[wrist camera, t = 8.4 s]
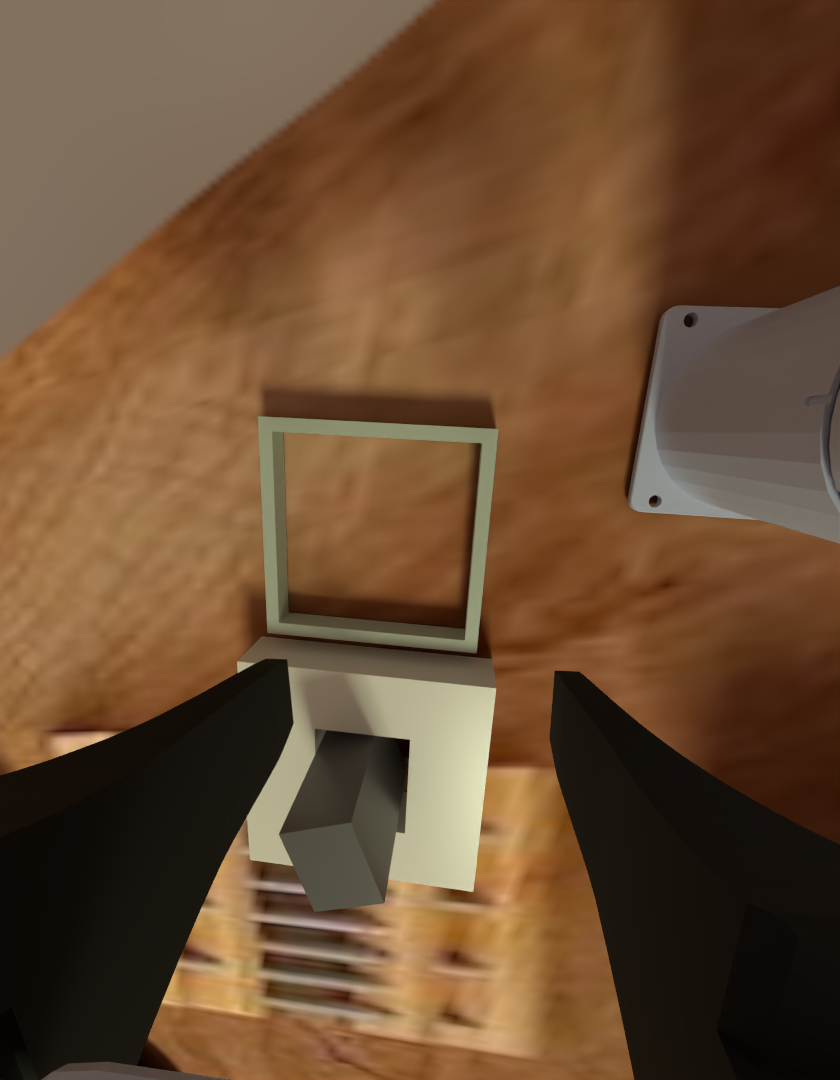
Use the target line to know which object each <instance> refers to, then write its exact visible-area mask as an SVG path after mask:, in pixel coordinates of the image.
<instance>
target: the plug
mask: <svg viewBox="0 0 840 1080" xmlns="http://www.w3.org/2000/svg"><path fill="white" fill-rule="evenodd" d="M406 770H407V764H406V762H405V759H404V756H403V753H402V751H401V748H400V745H399V742H398V740H397V738H391V737H382V736H374V735H365V734H357V733H348V732H339V731H331V730H326V732H325V734H324V736H323V739H322V741H321V743H320V745H319V747H318V749H317V752H316V754H315V756H314V758H313V760H312V763H311V765H310V767H309V769H308V771H307V773H306V776H305V778H304V780H303V782H302V784H301V787H300V789H299V791H298V793H297V795H296V798H295V800H294V802H293V804H292V806H291V808H290V811H289V813H288V815H287V817H286V819H285V822H284V824H283V826H282V828H281V830H280V833H279V836H280V838H281V840H282V843H283V845H284V847H285V849H286V851H287V853H288V855H289V858H290V860H291V862H292V864H293V866H294V868H295V871H296V873H297V875H298V877H299V879H300V881H301V884H302V886H303V888H304V890H305V892H306V894H307V897H308V899H309V901H310V903H311V905H312V907H313V909H314V912H318V911H326V910H334V909H342V908H350V907H358V906H366V905H374V904H382V903H384V902H385V896H386V890H387V884H388V878H389V872H390V866H391V860H392V854H393V848H394V842H395V836H396V830H397V824H398V818H399V812H400V806H401V800H402V794H403V788H404V782H405V776H406Z"/></svg>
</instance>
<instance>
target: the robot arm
mask: <svg viewBox="0 0 840 1080" xmlns="http://www.w3.org/2000/svg"><path fill="white" fill-rule="evenodd" d="M686 315H689V316H691V317H692V319H693V324H692V326H691V327H690V328H689V327H686V326H685V324H684V318H685V316H686ZM654 495H656V496H657V499H658V501H657V503H656V504H655V505H653V506H650V505H649V499H650V498H651V497H652V496H654ZM628 504H629V506H630V507H631V508H632V509H633V510H635V511H639V512H650V513H665V514H679V515H694V516H709V517H724V518H738V519H753V520H762V521H765V522H768V523H772V524H775V525H778V526H782V527H785V528H789V529H792V530H795V531H799V532H802V533H805V534H809V535H812V536H816V537H819V538H822V539H826V540H829V541H832V542H836V543H839V544H840V286H837V287H835V288H832V289H830V290H827V291H825V292H822V293H819V294H817V295H814V296H812V297H809V298H806V299H804V300H801V301H799V302H796V303H794V304H791V305H788V306H786V307H783V308H753V307H719V306H684V305H679V306H674V307H672V308H670V309H669V310H667V311H665V313H664V314H663V315H662V316H661V319H660V322H659V328H658V333H657V339H656V344H655V350H654V356H653V361H652V367H651V372H650V378H649V383H648V389H647V394H646V400H645V405H644V411H643V417H642V422H641V428H640V433H639V439H638V444H637V450H636V455H635V461H634V466H633V472H632V477H631V483H630V489H629V494H628ZM293 724H294V721H293V711H292V701H291V691H290V681H289V671H288V661H287V659H267V658H266V659H264V660H262V661H259V662H257V663H255V664H253V665H251V666H250V667H248V668H246V669H244V670H242V671H240V672H239V673H237V674H235V675H233V676H232V677H230V678H228V679H226V680H224V681H223V682H221V683H219V684H217V685H216V686H214V687H212V688H210V689H208V690H207V691H205V692H203V693H201V694H199V695H198V696H196V697H194V698H192V699H190V700H188V701H186V702H184V703H182V704H180V705H178V706H176V707H174V708H173V709H171V710H169V711H167V712H165V713H163V714H161V715H159V716H157V717H155V718H153V719H151V720H149V721H146V722H144V723H142V724H140V725H138V726H136V727H133V728H131V729H129V730H126V731H124V732H122V733H119V734H117V735H115V736H112V737H110V738H107V739H105V740H103V741H100V742H97V743H95V744H92V745H89V746H86V747H84V748H81V749H78V750H76V751H73V752H70V753H68V754H65V755H62V756H59V757H57V758H54V759H51V760H48V761H45V762H42V763H39V764H36V765H33V766H30V767H27V768H24V769H21V770H17V771H14V772H11V773H7V774H4V775H1V776H0V1080H229V1079H222V1078H215V1077H209V1076H202V1075H195V1074H188V1073H181V1072H174V1071H168V1070H161V1069H154V1068H147V1067H140V1066H137V1064H138V1062H139V1059H140V1056H141V1054H142V1051H143V1048H144V1046H145V1043H146V1041H147V1038H148V1035H149V1033H150V1030H151V1028H152V1025H153V1023H154V1020H155V1018H156V1015H157V1013H158V1010H159V1008H160V1005H161V1003H162V1000H163V998H164V995H165V993H166V990H167V988H168V985H169V983H170V980H171V978H172V975H173V973H174V970H175V968H176V966H177V963H178V961H179V958H180V956H181V954H182V951H183V949H184V947H185V944H186V942H187V940H188V937H189V935H190V933H191V930H192V928H193V926H194V923H195V921H196V919H197V916H198V914H199V912H200V909H201V907H202V905H203V903H204V901H205V898H206V896H207V894H208V892H209V890H210V887H211V885H212V883H213V881H214V879H215V877H216V874H217V872H218V870H219V868H220V866H221V863H222V861H223V859H224V857H225V855H226V854H227V852H228V850H229V848H230V846H231V844H232V842H233V840H234V838H235V837H236V835H237V833H238V831H239V830H240V828H241V826H242V824H243V823H244V821H245V819H246V817H247V816H248V814H249V812H250V810H251V809H252V807H253V805H254V803H255V802H256V800H257V798H258V796H259V795H260V793H261V791H262V789H263V787H264V786H265V784H266V782H267V780H268V779H269V777H270V775H271V773H272V771H273V770H274V768H275V766H276V764H277V762H278V760H279V759H280V756H281V754H282V752H283V749H284V747H285V744H286V742H287V739H288V737H289V734H290V732H291V729H292V727H293ZM550 742H551V748H552V753H553V758H554V763H555V768H556V773H557V778H558V781H559V784H560V787H561V790H562V794H563V797H564V800H565V803H566V806H567V809H568V812H569V815H570V819H571V822H572V825H573V828H574V831H575V834H576V837H577V840H578V843H579V846H580V849H581V852H582V855H583V859H584V862H585V865H586V868H587V871H588V874H589V878H590V881H591V885H592V888H593V892H594V895H595V899H596V904H597V908H598V912H599V917H600V921H601V925H602V930H603V934H604V938H605V943H606V947H607V951H608V956H609V961H610V965H611V970H612V974H613V979H614V984H615V988H616V993H617V997H618V1002H619V1006H620V1011H621V1016H622V1021H623V1025H624V1030H625V1035H626V1040H627V1045H628V1050H629V1055H630V1060H631V1065H632V1070H633V1075H634V1079H635V1080H840V845H839V844H837V843H835V842H832V841H830V840H828V839H826V838H824V837H822V836H820V835H818V834H816V833H814V832H812V831H810V830H808V829H806V828H804V827H802V826H800V825H798V824H796V823H794V822H792V821H791V820H789V819H787V818H785V817H783V816H781V815H779V814H777V813H775V812H774V811H772V810H770V809H768V808H767V807H765V806H763V805H761V804H759V803H758V802H756V801H754V800H752V799H751V798H749V797H747V796H745V795H744V794H742V793H740V792H738V791H737V790H735V789H733V788H732V787H730V786H728V785H727V784H725V783H723V782H722V781H720V780H718V779H717V778H715V777H714V776H712V775H711V774H709V773H708V772H706V771H705V770H703V769H702V768H700V767H699V766H697V765H695V764H694V763H692V762H691V761H689V760H688V759H686V758H685V757H684V756H682V755H681V754H679V753H678V752H676V751H675V750H674V749H672V748H671V747H670V746H668V745H667V744H666V743H664V742H663V741H662V740H660V739H659V738H658V737H656V736H655V735H654V734H652V733H651V732H650V731H648V730H647V729H646V728H645V727H643V726H642V725H641V724H640V723H638V722H637V721H636V720H635V719H634V718H632V717H631V716H630V715H629V714H627V713H626V712H625V711H624V710H623V709H622V708H620V707H619V706H618V705H617V704H616V703H615V702H613V701H612V700H611V699H610V698H609V697H608V696H607V695H605V694H604V693H603V692H602V691H601V690H600V689H599V688H598V687H596V686H595V685H594V684H593V683H592V682H591V681H590V680H589V679H587V678H586V677H585V676H584V675H583V674H581V673H580V672H573V671H555V676H554V689H553V702H552V715H551V728H550Z"/></svg>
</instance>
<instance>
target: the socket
mask: <svg viewBox="0 0 840 1080" xmlns="http://www.w3.org/2000/svg"><path fill="white" fill-rule="evenodd" d="M266 658H267V659H287V661H288V671H289V681H290V691H291V701H292V711H293V721H294V724H293V727H292V729H291V732H290V734H289V737H288V739H287V742H286V744H285V747H284V749H283V752H282V754H281V756H280V759H279V760H278V762H277V764H276V766H275V768H274V770H273V771H272V773H271V775H270V777H269V779H268V780H267V782H266V784H265V786H264V787H263V789H262V791H261V793H260V795H259V796H258V798H257V800H256V802H255V803H254V805H253V807H252V809H251V810H250V812H249V814H248V816H247V821H248V836H249V851H250V860H256V861H263V862H270V863H277V864H284V865H291V866H293V864H292V862H291V860H290V858H289V855H288V853H287V851H286V849H285V847H284V845H283V843H282V840H281V838H280V836H279V833H280V830H281V828H282V826H283V824H284V822H285V819H286V817H287V815H288V813H289V811H290V808H291V806H292V804H293V802H294V800H295V798H296V795H297V793H298V791H299V789H300V787H301V784H302V782H303V780H304V778H305V776H306V773H307V771H308V769H309V767H310V765H311V763H312V760H313V758H314V756H315V754H316V752H317V749H318V747H319V745H320V743H321V741H322V739H323V736H324V734H325V732H326V730H331V731H339V732H348V733H357V734H365V735H374V736H382V737H391V738H400V739H408V740H410V751H409V769H408V787H407V792H404V791H403V794H402V800H401V806H400V812H399V818H398V824H397V830H396V836H395V842H394V848H393V854H392V860H391V866H390V872H389V878H388V880H395V881H402V882H409V883H416V884H423V885H430V886H436V887H443V888H450V889H457V890H464V891H471V892H473V889H474V880H475V871H476V862H477V854H478V845H479V836H480V827H481V818H482V809H483V800H484V792H485V783H486V774H487V765H488V756H489V747H490V739H491V730H492V721H493V712H494V703H495V694H496V683H495V676H494V668H493V660H492V659H488V658H477V657H467V656H457V655H447V654H437V653H426V652H416V651H406V650H396V649H386V648H376V647H365V646H355V645H345V644H335V643H325V642H315V641H304V640H294V639H284V638H274V637H264V636H262V637H261V638H260V639H259V640H258V641H257V642H256V643H255V644H254V645H253V646H252V647H251V648H250V649H249V650H248V651H247V652H246V653H245V654H244V655H243V656H242V657H241V658H240V659H239V660H238V661H237V667H238V673H239V672H240V671H242V670H244V669H246V668H248V667H250V666H251V665H253V664H255V663H257V662H259V661H262V660H264V659H266Z"/></svg>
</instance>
